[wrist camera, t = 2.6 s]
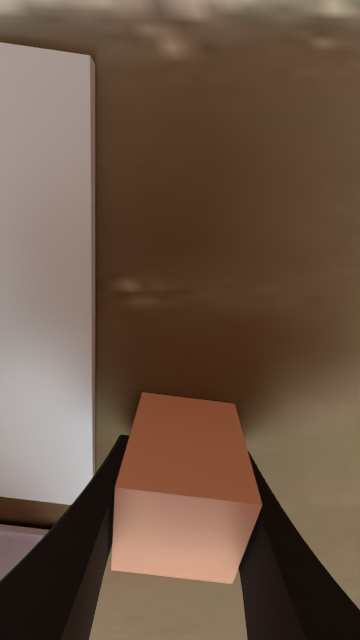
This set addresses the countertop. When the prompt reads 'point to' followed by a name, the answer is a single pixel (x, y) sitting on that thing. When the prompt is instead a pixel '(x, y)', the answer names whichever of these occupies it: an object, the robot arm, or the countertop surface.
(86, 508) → the robot arm
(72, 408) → the light grey flat board
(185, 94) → the countertop surface
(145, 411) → the top cube
